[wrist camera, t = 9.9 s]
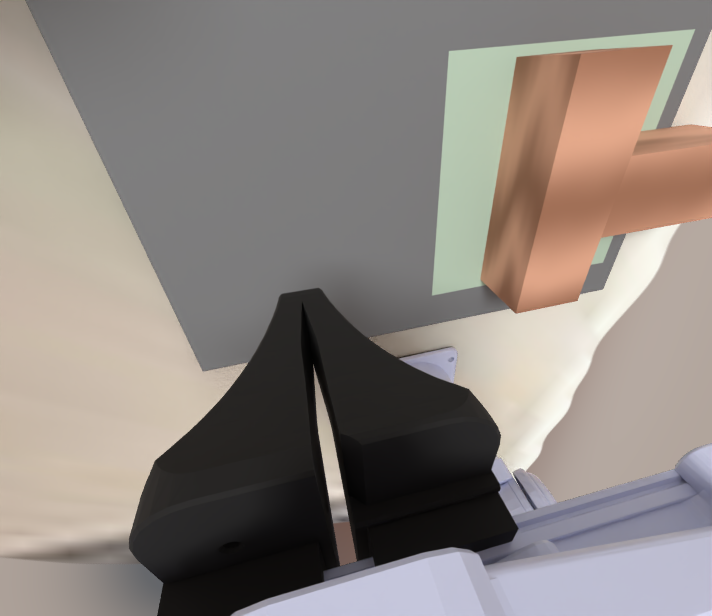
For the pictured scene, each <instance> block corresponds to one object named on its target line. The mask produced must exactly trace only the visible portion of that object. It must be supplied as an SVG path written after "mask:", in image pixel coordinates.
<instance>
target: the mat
mask: <svg viewBox="0 0 712 616" xmlns="http://www.w3.org/2000/svg"><path fill="white" fill-rule="evenodd" d="M25 1H26V3H27V5H28V7H29V9H30V11H31V13H32V15H33V17H34V19H35V22H36V24H37V26H38V28H39V30H40V32H41V34H42V36H43V38H44V40H45V42H46V44H47V47H48V49H49V51H50V53H51V55H52V57H53V59H54V61H55V63H56V65H57V67H58V70H59V72H60V74H61V76H62V78H63V80H64V82H65V84H66V86H67V88H68V90H69V93H70V95H71V97H72V99H73V101H74V103H75V105H76V107H77V109H78V111H79V113H80V116H81V118H82V120H83V122H84V124H85V126H86V128H87V130H88V132H89V134H90V136H91V139H92V141H93V143H94V145H95V147H96V149H97V151H98V153H99V155H100V157H101V159H102V162H103V164H104V166H105V168H106V170H107V172H108V174H109V176H110V178H111V180H112V182H113V185H114V187H115V189H116V191H117V193H118V195H119V197H120V199H121V201H122V203H123V205H124V208H125V210H126V212H127V214H128V216H129V218H130V220H131V222H132V224H133V226H134V228H135V230H136V233H137V235H138V237H139V239H140V241H141V243H142V245H143V247H144V249H145V251H146V253H147V256H148V258H149V260H150V262H151V264H152V266H153V268H154V270H155V272H156V274H157V276H158V279H159V281H160V283H161V285H162V287H163V289H164V291H165V293H166V295H167V297H168V299H169V302H170V304H171V306H172V308H173V310H174V312H175V314H176V316H177V318H178V320H179V322H180V325H181V327H182V329H183V331H184V333H185V335H186V337H187V339H188V341H189V343H190V345H191V348H192V350H193V352H194V354H195V356H196V358H197V360H198V362H199V364H200V366H201V368H202V371H208V370H213V369H218V368H222V367H227V366H232V365H237V364H242V363H247V362H249V361H250V360H251V358H252V356H253V355H254V353H255V352H256V350H257V348H258V346H259V344H260V342H261V341H262V339H263V337H264V335H265V333H266V331H267V328H268V326H269V324H270V322H271V320H272V317H273V314H274V312H275V309H276V306H277V303H278V299H279V296H280V295H281V294H283V293H289V292H295V291H301V290H307V289H313V288H320V289H321V290H323V292H324V294H325V295H326V297H327V298H328V299H329V301H330V302H331V303H332V304H333V305H334V307H335V308H336V309H337V310H338V311H339V312H340V313H341V314H342V315H343V316H344V317H345V318H346V319H347V320H348V321H349V322H350V323H351V324H352V325H353V326H354V327H355V328H356V329H357V330H359V331H360V332H361V333H362V334H363V335H364V336H366V337H367V338H368V337H373V336H378V335H383V334H388V333H393V332H398V331H403V330H407V329H412V328H417V327H422V326H427V325H432V324H437V323H442V322H446V321H451V320H456V319H461V318H466V317H471V316H476V315H480V314H485V313H490V312H495V311H500V310H505V309H510V308H509V307H508V306H507V305H506V304H505V303H504V302H503V301H502V300H501V299H500V298H499V297H498V296H497V295H496V294H495V293H494V292H493V291H492V290H491V289H490V288H489V287H488V286H487V285H486V284H485V283H483V282H482V281H481V280H480V278H481V271H482V265H483V259H484V253H485V247H486V241H487V235H488V229H489V222H490V216H491V210H492V204H493V198H494V192H495V186H496V180H497V173H498V167H499V161H500V155H501V149H502V143H503V137H504V131H505V124H506V118H507V112H508V106H509V100H510V94H511V88H512V82H513V75H514V69H515V63H516V57H521V56H531V55H542V54H552V53H563V52H573V51H584V50H595V49H612V48H629V47H646V46H663V45H673V46H672V49H671V52H670V54H669V57H668V60H667V62H666V65H665V68H664V70H663V73H662V76H661V78H660V81H659V84H658V86H657V89H656V92H655V94H654V97H653V100H652V102H651V105H650V108H649V110H648V113H647V116H646V118H645V121H644V124H643V126H642V129H641V131H647V130H654V129H662V128H669V127H671V125H672V123H673V120H674V118H675V116H676V113H677V111H678V108H679V106H680V104H681V101H682V99H683V96H684V94H685V92H686V89H687V87H688V84H689V82H690V80H691V77H692V75H693V72H694V70H695V68H696V65H697V63H698V60H699V58H700V56H701V53H702V51H703V48H704V46H705V44H706V41H707V39H708V36H709V34H710V32H711V29H712V0H25ZM625 235H626V233H625V234H620V235H614V236H609V237H603V238H601V239H600V242H599V244H598V247H597V250H596V252H595V255H594V258H593V260H592V263H591V266H590V268H589V271H588V274H587V276H586V279H585V282H584V284H583V287H582V290H581V292H580V294H583V293H588V292H592V291H597V290H602V289H603V288H604V286H605V283H606V281H607V278H608V276H609V274H610V271H611V269H612V266H613V264H614V262H615V259H616V257H617V255H618V252H619V250H620V247H621V245H622V243H623V240H624V238H625Z"/></svg>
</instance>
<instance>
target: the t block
mask: <svg viewBox="0 0 712 616" xmlns="http://www.w3.org/2000/svg"><path fill="white" fill-rule="evenodd" d="M672 46H673V45H663V46H646V47H629V48H612V49H595V50H584V51H573V52H563V53H552V54H542V55H531V56H521V57H516V63H515V69H514V75H513V82H512V88H511V94H510V100H509V106H508V112H507V118H506V124H505V131H504V137H503V143H502V149H501V155H500V161H499V167H498V173H497V180H496V186H495V192H494V198H493V204H492V210H491V216H490V222H489V229H488V235H487V241H486V247H485V253H484V259H483V265H482V271H481V278H480V280H481V281H482V282H483V283H485V284H486V285H487V286H488V287H489V288H490V289H491V290H492V291H493V292H494V293H495V294H496V295H497V296H498V297H499V298H500V299H501V300H502V301H503V302H504V303H505V304H506V305H507V306H508V307H509V308H510V309H512V310H513V311H514V312H515V313H521V312H526V311H531V310H536V309H540V308H545V307H550V306H555V305H560V304H564V303H569V302H574V301H578V298H579V295H580V292H581V290H582V287H583V284H584V282H585V279H586V276H587V274H588V271H589V268H590V266H591V263H592V260H593V258H594V255H595V252H596V250H597V247H598V244H599V242H600V239H601V238H603V237H609V236H614V235H620V234H625V233H631V232H636V231H642V230H647V229H653V228H658V227H664V226H669V225H675V224H680V223H685V222H691V221H696V220H702V219H707V218H712V127H706V126H698V125H684V126H676V127H669V128H662V129H654V130H647V131H641V129H642V126H643V124H644V121H645V118H646V116H647V113H648V110H649V108H650V105H651V102H652V100H653V97H654V94H655V92H656V89H657V86H658V84H659V81H660V78H661V76H662V73H663V70H664V68H665V65H666V62H667V60H668V57H669V54H670V52H671V49H672Z"/></svg>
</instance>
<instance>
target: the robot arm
mask: <svg viewBox="0 0 712 616" xmlns="http://www.w3.org/2000/svg"><path fill="white" fill-rule="evenodd" d="M457 354H458V353H457V350H456V349H455V348H453V347H450V348H445V349H440V350H436V351H431V352H427V353H422V354H417V355H413V356H408V357H404V358H399V359H398V358H396V357H394V356H393V355H391V354H389V353H388V352H386V351H385V350H383V349H382V348H380V347H379V346H378V345H376V344H375V343H373V342H372V341H371V340H369V339H368V338H367V337H366V336H364V335H363V334H362V333H361V332H360V331H359V330H357V329H356V328H355V327H354V326H353V325H352V324H351V323H350V322H349V321H348V320H347V319H346V318H345V317H344V316H343V315H342V314H341V313H340V312H339V311H338V310H337V309H336V308H335V307H334V305H333V304H332V303H331V302H330V301H329V299H328V298H327V297H326V295H325V294H324V292H323V290H321V289H320V288H313V289H307V290H301V291H295V292H289V293H283V294H281V295H280V296H279V299H278V303H277V306H276V309H275V312H274V314H273V317H272V320H271V322H270V324H269V326H268V328H267V331H266V333H265V335H264V337H263V339H262V341H261V342H260V344H259V346H258V348H257V350H256V352H255V353H254V355H253V356H252V358H251V360H250V361H249V363H248V364H247V366H246V367H245V369H244V370H243V372H242V373H241V374H240V376H239V377H238V378H237V380H236V381H235V382H234V384H233V385H232V386H231V387H230V389H229V390H228V391H227V392H226V394H225V395H224V396H223V397H222V398H221V400H220V401H219V402H218V403H217V404H216V405H215V406H214V407H213V408H212V409H211V410H210V411H209V412H208V413H207V414H206V416H205V417H204V418H203V419H202V420H201V421H200V422H199V423H198V424H197V425H195V426H194V427H193V428H192V429H191V430H190V431H189V432H188V433H187V434H186V435H184V436H183V437H182V438H181V439H180V440H179V441H178V442H176V443H175V444H174V445H173V446H172V447H171V448H170V449H168V450H167V451H166V452H165V453H164V454H163V455H161V456H160V457H159V458H158V459H156V460H155V462H154V464H153V467H152V470H151V472H150V475H149V477H148V479H147V481H146V484H145V487H144V489H143V492H142V495H141V498H140V502H139V505H138V509H137V512H136V516H135V519H134V523H133V527H132V530H131V534H130V537H129V549H130V551H131V552H132V553H133V555H134V556H135V558H136V559H137V560H138V561H139V562H140V563H141V564H142V565H144V566H145V567H146V568H147V569H148V570H149V571H150V572H152V573H153V574H154V575H155V576H156V577H157V578H158V579H160V580H161V581H162V582H163V588H162V594H161V599H160V604H159V609H158V615H157V616H712V443H710V444H706V445H703V446H700V447H697V448H695V449H693V450H691V451H690V452H688V453H686V454H685V455H684V456H683V457H682V458H681V459H680V460H679V461H678V463H677V464H676V465H675V469H672V470H669V471H665V472H662V473H659V474H655V475H652V476H648V477H645V478H641V479H638V480H635V481H631V482H628V483H624V484H621V485H617V486H614V487H610V488H607V489H604V490H600V491H597V492H593V493H590V494H586V495H583V496H579V497H576V498H573V499H570V500H566V501H563V502H559V503H557V502H556V500H555V499H554V497H553V496H552V494H551V493H550V492H549V490H548V489H547V488H546V486H545V485H544V484H543V483H542V481H541V480H540V479H539V478H538V477H537V476H536V475H534V474H532V473H529V472H525V471H524V470H523V469H521V468H520V469H517V470H516V471H514V472H512V473H513V475H514V477H515V479H516V481H517V483H518V484H517V483H516V481H515V480H514V478H513V477H512V475H511V473H510V472H509V470H508V468H507V467H506V465H505V464H504V462H503V460H502V459H501V458H498V457H497V455H496V454H497V451H498V448H499V445H500V438H501V434H500V432H499V429H498V427H497V425H496V424H495V422H494V421H493V419H492V417H491V416H490V414H489V413H488V412H487V410H486V409H485V408H484V407H483V405H482V404H481V403H480V402H479V401H478V399H477V398H476V397H475V396H474V395H473V394H472V392H471V391H470V390H469V389H467V388H464V387H461V386H459V385H456V384H453V382H454V375H455V368H456V361H457ZM312 359H313V360H312ZM313 364H314V368H315V371H316V375H317V378H318V382H319V385H320V388H321V392H322V395H323V399H324V402H325V405H326V409H327V412H328V416H329V419H330V423H331V427H332V432H333V437H334V442H335V447H336V453H337V458H338V463H339V468H340V474H341V479H342V484H343V489H344V495H345V500H346V505H347V511H348V516H349V521H350V526H351V532H352V537H353V542H354V547H355V553H356V558H357V561H356V562H353V563H349V564H346V565H343V566H340V562H339V556H338V551H337V544H336V538H335V532H334V527H333V520H332V514H331V508H330V502H329V496H328V490H327V484H326V478H325V472H324V466H323V460H322V453H321V447H320V441H319V435H318V426H317V415H316V399H315V383H314V368H313ZM518 485H519V486H520V487H519V486H518ZM520 488H521V489H520Z"/></svg>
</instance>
